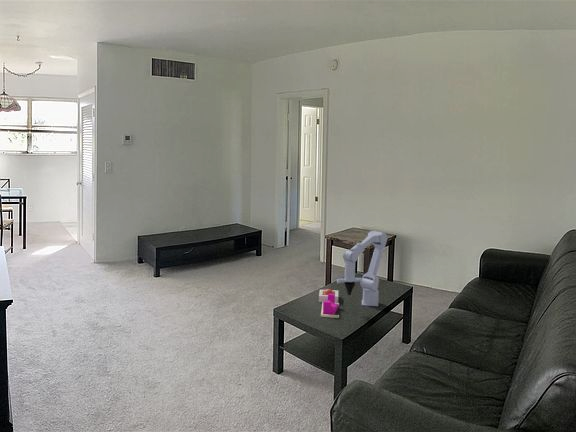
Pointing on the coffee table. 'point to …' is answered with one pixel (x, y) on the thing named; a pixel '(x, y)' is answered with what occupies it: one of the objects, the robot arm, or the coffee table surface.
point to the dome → (328, 292)
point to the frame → (329, 315)
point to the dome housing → (325, 297)
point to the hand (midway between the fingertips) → (349, 294)
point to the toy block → (330, 305)
